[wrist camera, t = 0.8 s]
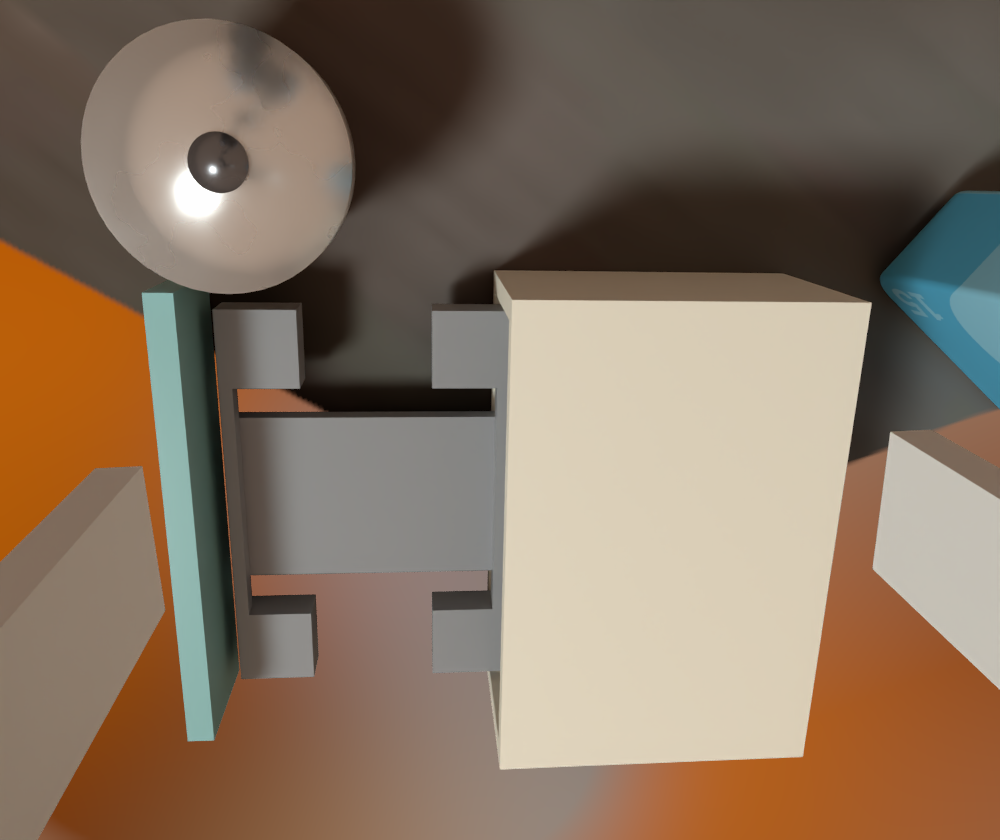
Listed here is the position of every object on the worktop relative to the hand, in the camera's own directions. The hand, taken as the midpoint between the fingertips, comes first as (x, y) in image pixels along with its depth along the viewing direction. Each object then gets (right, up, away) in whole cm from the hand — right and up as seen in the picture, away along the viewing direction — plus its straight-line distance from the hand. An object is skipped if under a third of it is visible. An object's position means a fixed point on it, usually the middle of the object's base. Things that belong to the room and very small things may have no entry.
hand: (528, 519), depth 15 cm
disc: (-9, +10, +12) cm, 18 cm away
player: (+5, -1, +22) cm, 23 cm away
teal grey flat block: (-7, -1, +21) cm, 22 cm away
